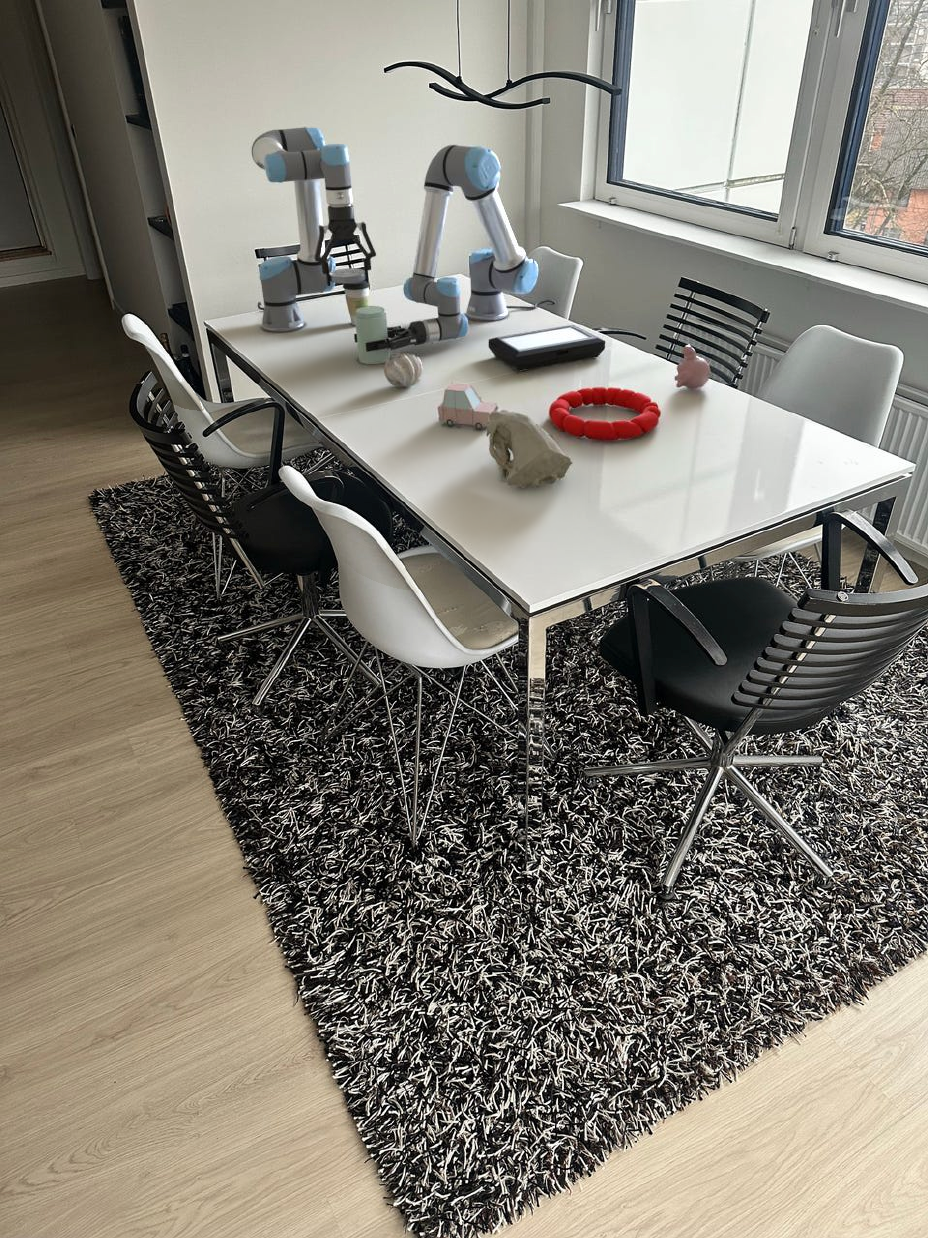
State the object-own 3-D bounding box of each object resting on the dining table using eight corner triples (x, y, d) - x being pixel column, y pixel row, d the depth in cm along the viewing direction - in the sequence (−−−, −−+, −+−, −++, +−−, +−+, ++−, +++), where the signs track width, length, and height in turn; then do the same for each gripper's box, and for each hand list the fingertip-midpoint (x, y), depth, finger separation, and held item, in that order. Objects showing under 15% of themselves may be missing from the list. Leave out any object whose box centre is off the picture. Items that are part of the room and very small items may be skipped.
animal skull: (496, 517, 219) (521, 479, 201) (463, 429, 225) (484, 384, 207) (557, 503, 225) (586, 465, 206) (523, 417, 231) (549, 373, 212)
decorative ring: (589, 435, 224) (684, 402, 234) (527, 398, 247) (617, 369, 256) (589, 461, 229) (683, 427, 238) (529, 422, 251) (617, 393, 260)
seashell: (376, 385, 272) (373, 353, 266) (419, 376, 278) (418, 344, 272) (390, 395, 265) (387, 362, 259) (434, 385, 270) (433, 353, 265)
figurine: (665, 387, 264) (669, 347, 257) (693, 380, 268) (698, 340, 261) (686, 396, 257) (690, 355, 250) (714, 388, 262) (720, 348, 255)
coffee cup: (372, 326, 323) (368, 283, 314) (345, 327, 323) (340, 284, 315) (374, 318, 331) (371, 276, 322) (348, 319, 331) (344, 277, 323)
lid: (332, 284, 265) (331, 278, 264) (327, 276, 273) (326, 270, 272) (368, 281, 267) (368, 274, 266) (362, 272, 276) (362, 266, 275)
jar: (378, 352, 299) (374, 303, 290) (395, 359, 293) (392, 309, 284) (353, 359, 294) (348, 309, 285) (370, 366, 288) (366, 316, 278)
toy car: (488, 432, 240) (488, 396, 234) (436, 426, 244) (434, 390, 239) (499, 419, 247) (499, 384, 241) (448, 413, 252) (447, 379, 246)
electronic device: (516, 354, 273) (488, 336, 289) (516, 374, 277) (488, 355, 292) (605, 338, 284) (574, 322, 299) (604, 357, 287) (573, 341, 302)
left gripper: (300, 209, 253) (310, 289, 266) (382, 203, 257) (388, 282, 270) (298, 205, 259) (308, 283, 272) (378, 199, 264) (384, 276, 276)
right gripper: (437, 352, 290) (373, 364, 282) (410, 334, 307) (349, 344, 299) (436, 329, 285) (371, 340, 278) (409, 312, 302) (347, 322, 295)
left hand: (348, 283), depth 271 cm, fingers closed on lid, 11 cm apart
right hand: (360, 342), depth 288 cm, fingers closed on jar, 10 cm apart
